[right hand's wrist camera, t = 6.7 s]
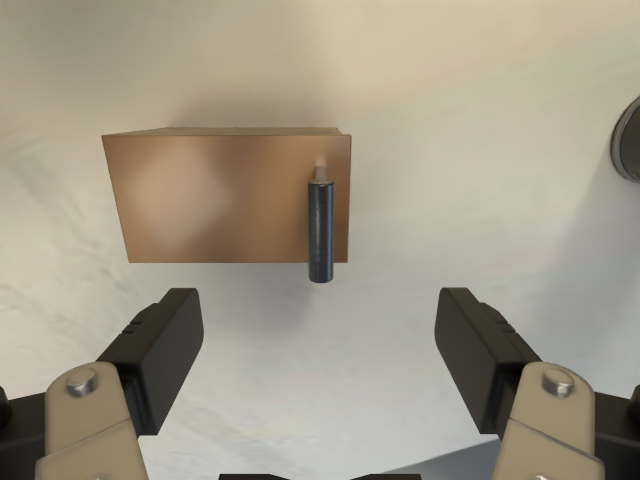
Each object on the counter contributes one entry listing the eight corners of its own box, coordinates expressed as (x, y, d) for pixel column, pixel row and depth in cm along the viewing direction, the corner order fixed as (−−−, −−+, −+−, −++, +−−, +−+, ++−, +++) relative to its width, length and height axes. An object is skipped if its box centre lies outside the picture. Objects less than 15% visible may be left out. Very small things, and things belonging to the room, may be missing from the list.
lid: (350, 134, 24) (364, 145, 16) (346, 257, 27) (356, 312, 20) (110, 134, 24) (14, 145, 16) (135, 257, 27) (66, 313, 20)
